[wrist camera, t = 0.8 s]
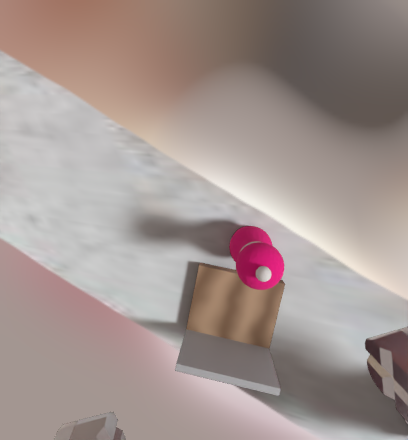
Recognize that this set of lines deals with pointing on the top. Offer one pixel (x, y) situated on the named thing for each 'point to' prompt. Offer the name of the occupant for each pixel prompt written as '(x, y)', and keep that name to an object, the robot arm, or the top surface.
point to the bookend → (231, 331)
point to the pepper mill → (256, 258)
